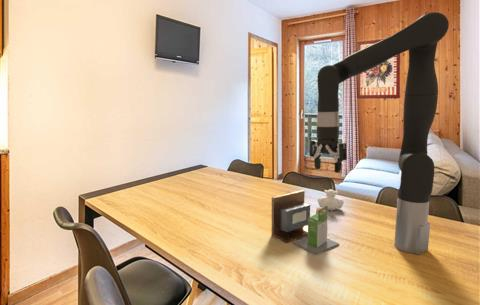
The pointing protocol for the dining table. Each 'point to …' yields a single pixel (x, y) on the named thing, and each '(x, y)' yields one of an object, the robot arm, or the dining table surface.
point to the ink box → (317, 228)
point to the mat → (315, 250)
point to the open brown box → (290, 216)
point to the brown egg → (321, 211)
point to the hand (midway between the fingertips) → (327, 170)
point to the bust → (330, 201)
